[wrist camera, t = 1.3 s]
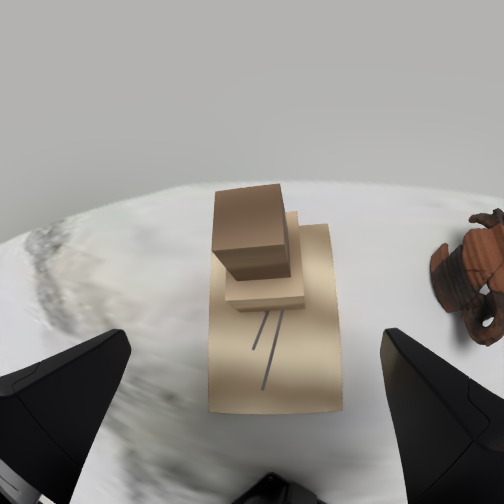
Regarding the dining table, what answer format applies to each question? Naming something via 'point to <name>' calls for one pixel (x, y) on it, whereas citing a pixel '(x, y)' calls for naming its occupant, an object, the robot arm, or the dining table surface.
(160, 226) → the dining table surface
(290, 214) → the block
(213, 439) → the dining table surface
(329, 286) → the pine board
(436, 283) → the pottery mug
